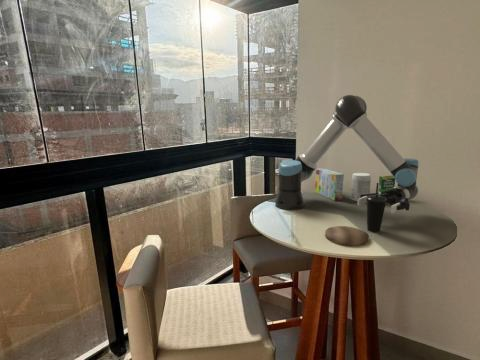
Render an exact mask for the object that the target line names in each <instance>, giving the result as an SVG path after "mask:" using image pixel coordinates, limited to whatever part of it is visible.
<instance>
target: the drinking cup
mask: <svg viewBox="0 0 480 360" xmlns="http://www.w3.org/2000/svg"><path fill="white" fill-rule="evenodd" d="M375 187H376V188H375V193H376V195H371V196H368V197H366V200H367V202H366V218H367V219H366V224H367V225H366V226H367V228H366V229H367V231H368V232H371V233H380V232H381V228H382V223H383V219H384V214H385V208H386V204H387V203H386V201H387V199H386V198H384V197H382V196H379V195H378V192H379V182H376V186H375Z"/></svg>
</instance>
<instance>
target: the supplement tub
mask: <svg viewBox="0 0 480 360" xmlns="http://www.w3.org/2000/svg"><path fill="white" fill-rule="evenodd" d="M351 175H352V176H351V177H352V178H351V195H350V196H351V197H350V199H351V200H352V201H353V202H354V201H355V202H358V199H359V198H360V194H371V181H372V179H371V178H372V177H371V174H370V173H366V172H355V173H352V174H351Z"/></svg>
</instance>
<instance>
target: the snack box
mask: <svg viewBox="0 0 480 360" xmlns="http://www.w3.org/2000/svg"><path fill="white" fill-rule="evenodd" d="M344 177H345V175H344V174H343V173H341V172H339V171H338V172H337V171H333V170H330V169H326V168H322V167H321V168H316V169H315V184H314V185H315V187H314V192H315V193H316V194H319V195H321V196H322V197H325V198H326V199H330V200H332V201H334V202H335V201H342V200H343V190H344V189H343V188H344V187H343V186H344Z"/></svg>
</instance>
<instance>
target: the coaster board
mask: <svg viewBox="0 0 480 360" xmlns="http://www.w3.org/2000/svg"><path fill="white" fill-rule="evenodd" d="M324 234H325V236H324V237H325V238H326V240H328V241H329V242H331V243H333V244H337V245H340V246H345V247H360V246H365V245H367V244H368V243H369V240H370V236H369V233H368V232H366V231H364V230H362V229H360V228H357V227H352V226H343V225H341V226H340V225H338V226H337V225H335V226H330V227H328V228H327V229H326V230H325V233H324ZM366 243H367V244H366Z"/></svg>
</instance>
